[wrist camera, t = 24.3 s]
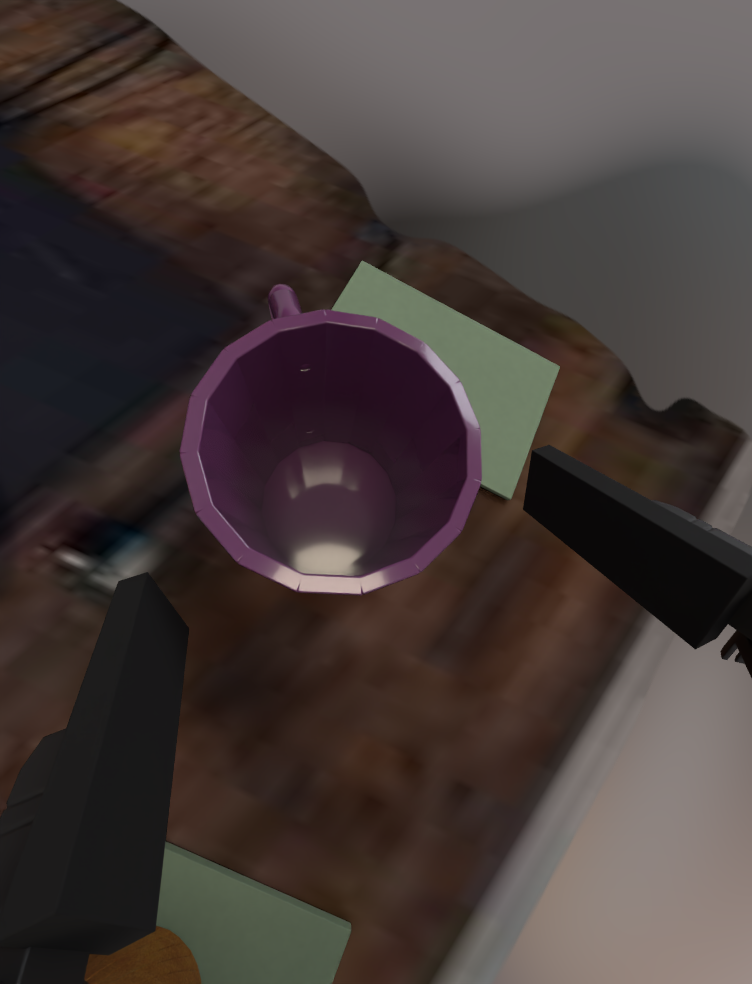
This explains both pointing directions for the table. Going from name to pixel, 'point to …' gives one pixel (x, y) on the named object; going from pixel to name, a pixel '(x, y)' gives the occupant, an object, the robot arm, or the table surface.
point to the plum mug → (331, 451)
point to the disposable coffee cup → (146, 962)
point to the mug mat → (467, 368)
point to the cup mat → (246, 925)
